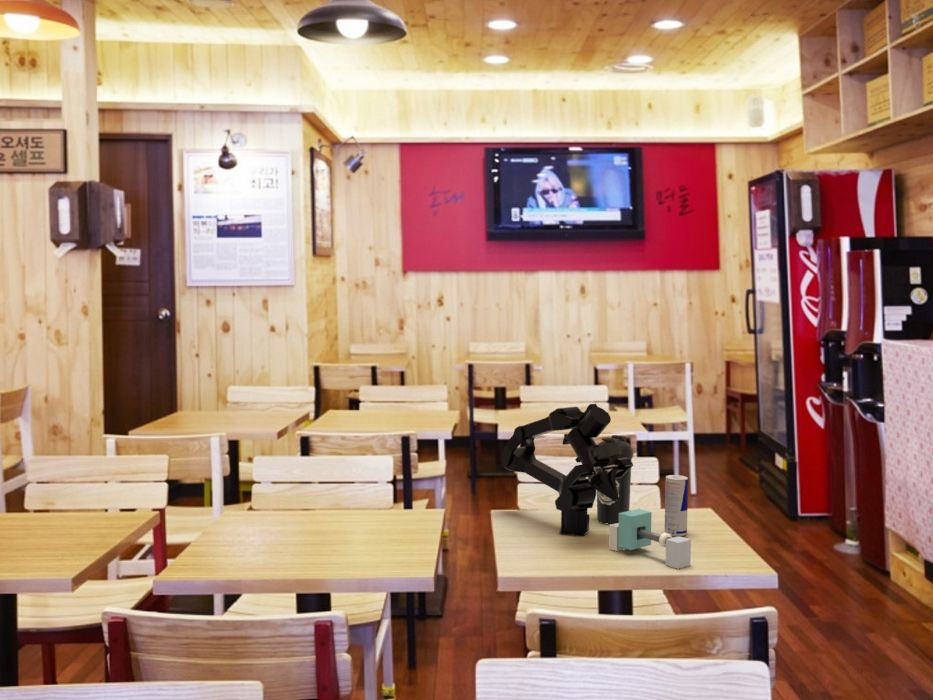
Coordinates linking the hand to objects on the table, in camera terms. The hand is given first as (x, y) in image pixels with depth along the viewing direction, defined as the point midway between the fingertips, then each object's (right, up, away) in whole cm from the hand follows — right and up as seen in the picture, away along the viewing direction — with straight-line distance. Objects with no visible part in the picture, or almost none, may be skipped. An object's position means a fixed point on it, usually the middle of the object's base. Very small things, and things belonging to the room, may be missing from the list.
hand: (616, 500), depth 219 cm
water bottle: (+3, -10, +24) cm, 26 cm away
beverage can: (+17, -11, +11) cm, 23 cm away
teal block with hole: (+4, -10, -4) cm, 12 cm away
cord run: (+6, -12, -8) cm, 16 cm away
